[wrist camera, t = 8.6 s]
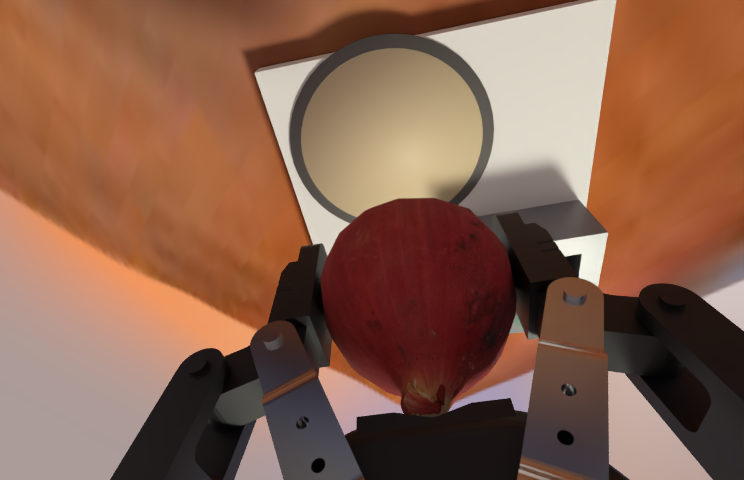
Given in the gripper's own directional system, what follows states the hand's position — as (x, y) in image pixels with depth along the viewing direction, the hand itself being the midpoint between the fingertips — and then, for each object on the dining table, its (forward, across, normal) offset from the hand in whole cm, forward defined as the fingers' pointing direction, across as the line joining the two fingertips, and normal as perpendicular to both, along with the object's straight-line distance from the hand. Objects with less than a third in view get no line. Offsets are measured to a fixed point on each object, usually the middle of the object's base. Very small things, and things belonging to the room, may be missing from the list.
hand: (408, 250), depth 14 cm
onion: (+2, 0, 0) cm, 2 cm away
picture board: (+10, -2, +4) cm, 11 cm away
